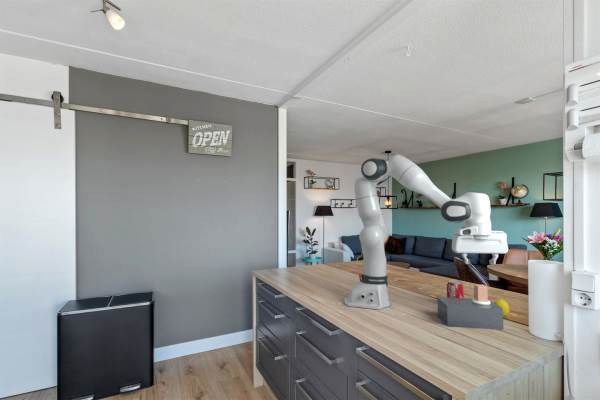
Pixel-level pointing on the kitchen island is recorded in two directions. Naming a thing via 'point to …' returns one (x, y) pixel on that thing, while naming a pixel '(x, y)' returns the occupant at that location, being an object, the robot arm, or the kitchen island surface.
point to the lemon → (503, 305)
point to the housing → (469, 313)
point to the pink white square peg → (480, 295)
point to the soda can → (455, 289)
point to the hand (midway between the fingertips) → (480, 264)
